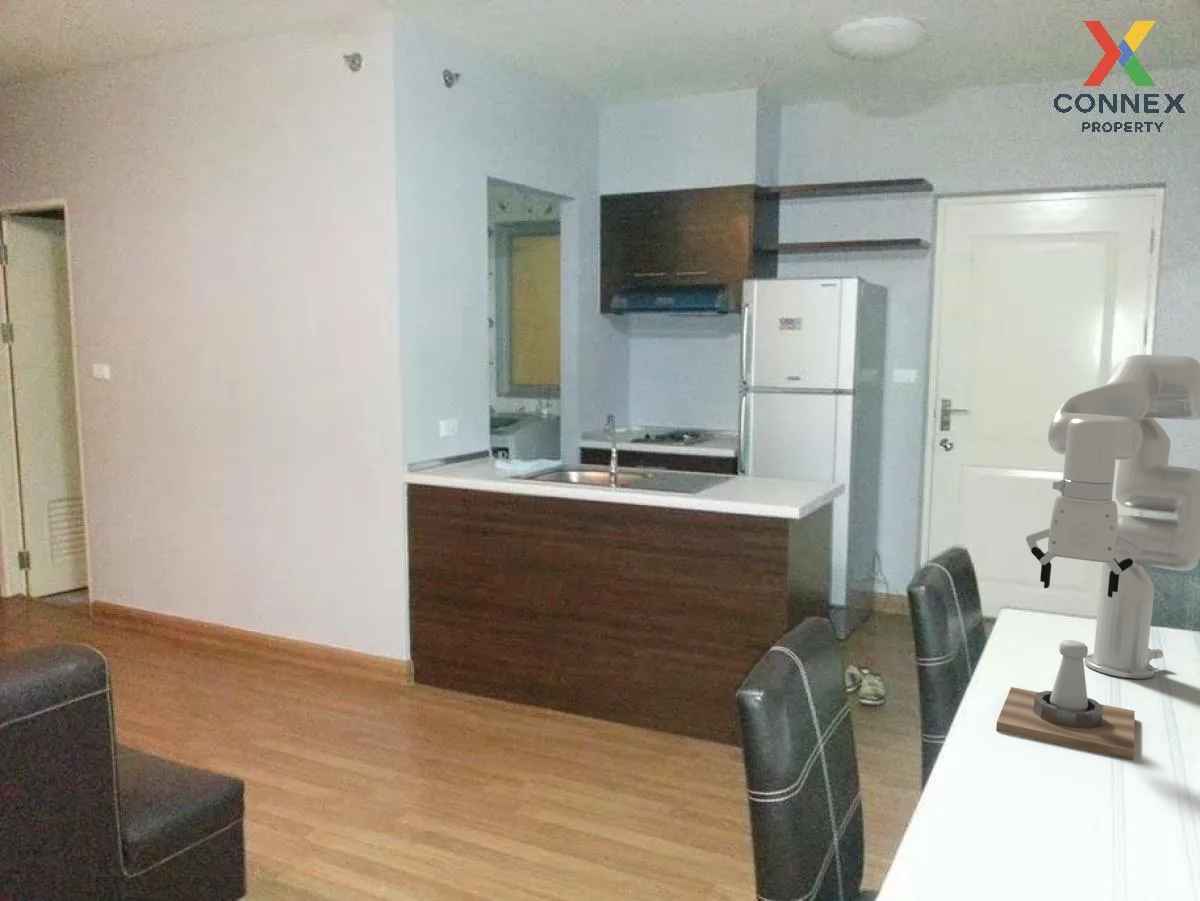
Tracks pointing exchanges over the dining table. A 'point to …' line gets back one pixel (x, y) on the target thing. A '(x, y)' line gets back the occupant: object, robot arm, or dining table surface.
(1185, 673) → the dining table surface
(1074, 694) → the salt shaker
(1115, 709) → the board
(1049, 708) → the collar
